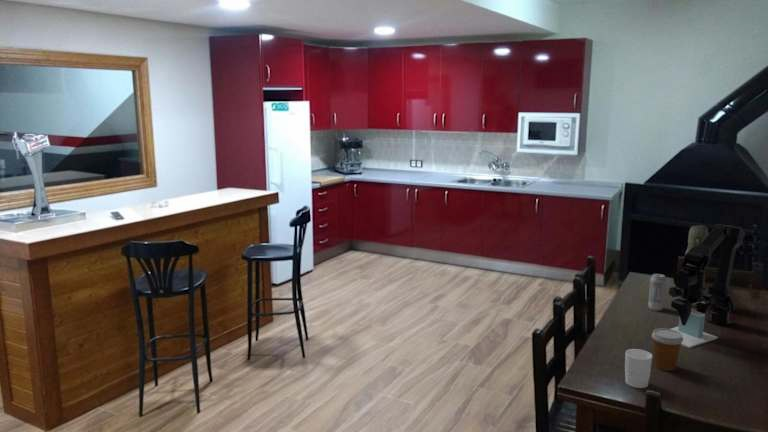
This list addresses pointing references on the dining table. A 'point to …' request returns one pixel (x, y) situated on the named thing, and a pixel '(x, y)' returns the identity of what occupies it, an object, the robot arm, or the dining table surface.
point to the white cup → (637, 367)
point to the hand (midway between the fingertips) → (691, 322)
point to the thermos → (696, 240)
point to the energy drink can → (657, 292)
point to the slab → (693, 324)
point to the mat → (694, 339)
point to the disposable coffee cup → (666, 348)
